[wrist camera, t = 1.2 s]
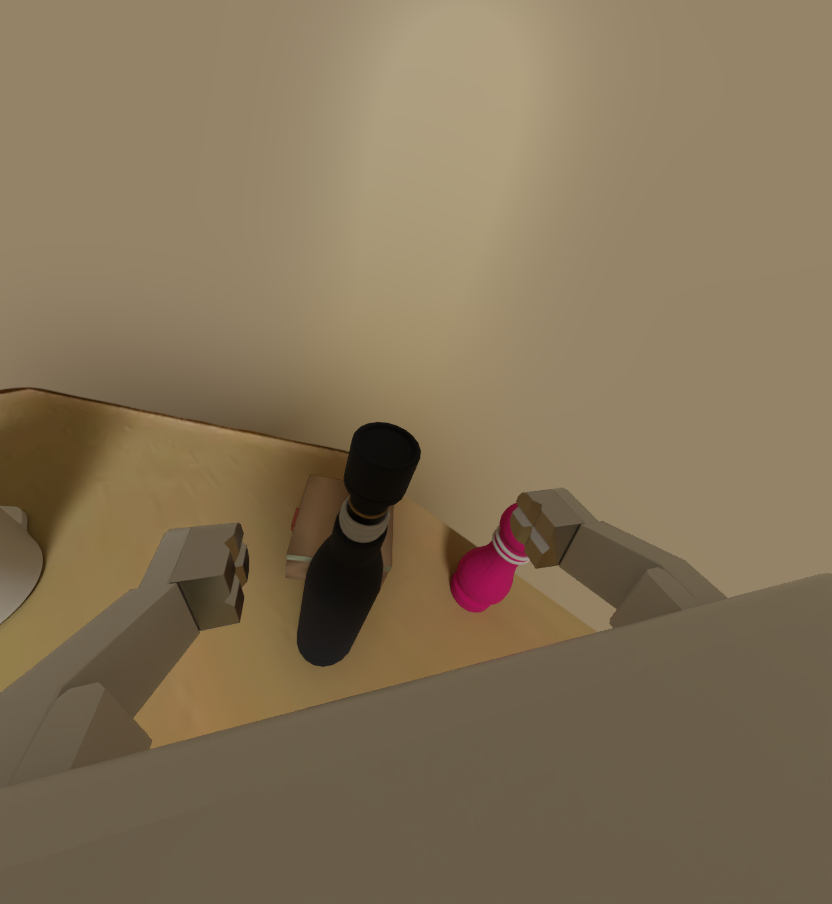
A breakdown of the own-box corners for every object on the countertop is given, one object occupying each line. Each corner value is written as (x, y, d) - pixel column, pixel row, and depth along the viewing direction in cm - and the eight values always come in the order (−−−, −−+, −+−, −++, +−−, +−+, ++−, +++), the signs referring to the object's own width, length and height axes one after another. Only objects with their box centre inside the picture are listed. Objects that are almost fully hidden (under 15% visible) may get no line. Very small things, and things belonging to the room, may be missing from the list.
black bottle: (291, 667, 34) (319, 479, 15) (302, 604, 39) (334, 398, 19) (353, 666, 36) (451, 497, 16) (356, 606, 40) (435, 418, 21)
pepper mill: (439, 570, 47) (503, 480, 34) (480, 562, 50) (553, 477, 37) (458, 622, 43) (540, 541, 30) (502, 610, 46) (594, 532, 33)
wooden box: (280, 577, 40) (281, 552, 36) (303, 497, 49) (306, 470, 45) (381, 588, 43) (392, 566, 39) (384, 510, 52) (394, 486, 48)
